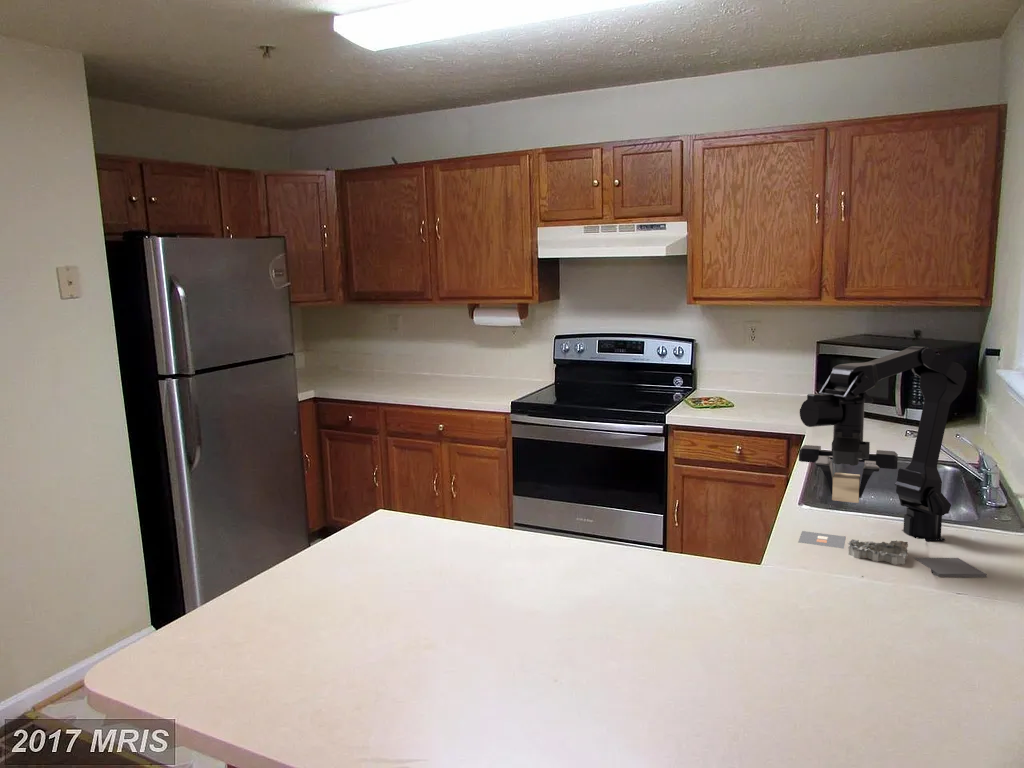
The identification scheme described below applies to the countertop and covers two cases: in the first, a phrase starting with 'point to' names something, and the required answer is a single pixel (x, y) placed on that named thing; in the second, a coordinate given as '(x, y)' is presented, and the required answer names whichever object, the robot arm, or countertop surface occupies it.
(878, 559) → the egg carton
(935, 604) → the countertop surface
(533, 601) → the countertop surface
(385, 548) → the countertop surface
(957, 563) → the charcoal mat
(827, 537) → the tile
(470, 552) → the countertop surface
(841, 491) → the maple block
